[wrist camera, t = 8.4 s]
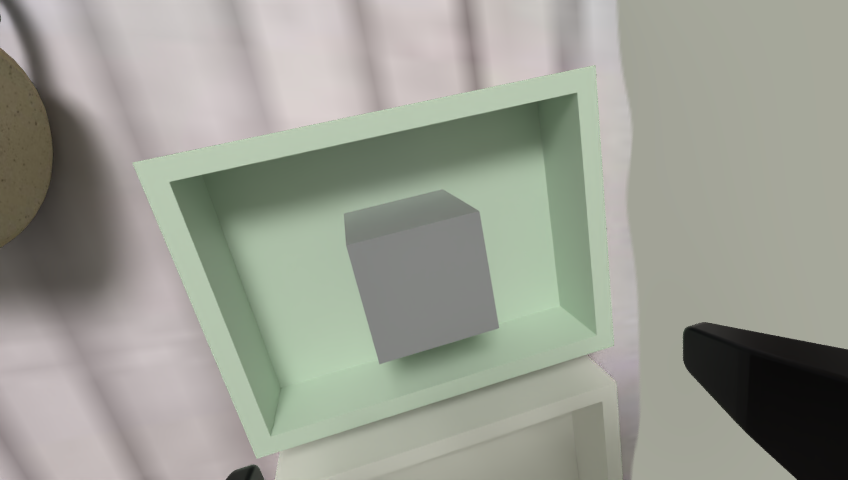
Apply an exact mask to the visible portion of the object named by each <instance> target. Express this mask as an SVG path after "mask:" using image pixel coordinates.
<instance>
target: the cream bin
mask: <svg viewBox="0 0 848 480" xmlns="http://www.w3.org/2000/svg"><path fill="white" fill-rule="evenodd" d="M275 480H623V472H622V457H621V442H620V427H619V412H618V397H617V382H616V381H615V380H614V379H612V378H611V377H610V376H609V375H608V374H607V373H606V372H605V371H604V370H603V369H602V368H600V367H599V366H598V365H597V364H596V363H595V362H594V361H593V360H592V359H591V358H590V357H588V356H587V355H583V356H580V357H577V358H574V359H571V360H568V361H565V362H561V363H558V364H555V365H552V366H549V367H546V368H542V369H539V370H536V371H533V372H530V373H527V374H523V375H520V376H517V377H514V378H511V379H508V380H504V381H501V382H498V383H495V384H492V385H489V386H485V387H482V388H479V389H476V390H473V391H470V392H466V393H463V394H460V395H457V396H454V397H451V398H447V399H444V400H441V401H438V402H435V403H432V404H428V405H425V406H422V407H419V408H416V409H413V410H409V411H406V412H403V413H400V414H397V415H394V416H390V417H387V418H384V419H381V420H378V421H375V422H371V423H368V424H365V425H362V426H359V427H356V428H353V429H349V430H346V431H343V432H340V433H337V434H334V435H330V436H327V437H324V438H321V439H318V440H315V441H311V442H308V443H305V444H302V445H299V446H296V447H292V448H289V449H286V450H283V451H280V454H279V460H278V466H277V471H276V477H275Z"/></svg>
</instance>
